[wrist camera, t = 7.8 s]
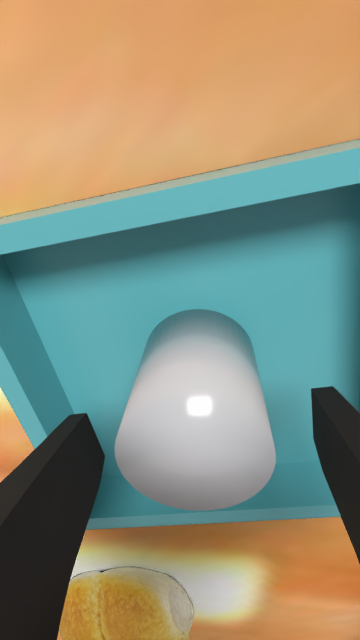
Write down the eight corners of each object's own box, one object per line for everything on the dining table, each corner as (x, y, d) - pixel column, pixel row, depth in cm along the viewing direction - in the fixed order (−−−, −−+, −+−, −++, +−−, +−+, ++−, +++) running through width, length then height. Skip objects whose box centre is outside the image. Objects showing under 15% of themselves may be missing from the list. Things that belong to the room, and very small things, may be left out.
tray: (370, 459, 16) (398, 513, 14) (96, 480, 19) (79, 530, 16) (389, 132, 10) (444, 129, 8) (-25, 222, 12) (-80, 242, 10)
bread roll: (46, 571, 24) (18, 645, 20) (161, 551, 22) (151, 631, 18) (104, 627, 27) (88, 699, 24) (208, 615, 25) (208, 692, 21)
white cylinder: (255, 398, 14) (275, 510, 10) (153, 402, 15) (130, 510, 11) (252, 304, 13) (276, 392, 8) (136, 313, 13) (99, 399, 9)
